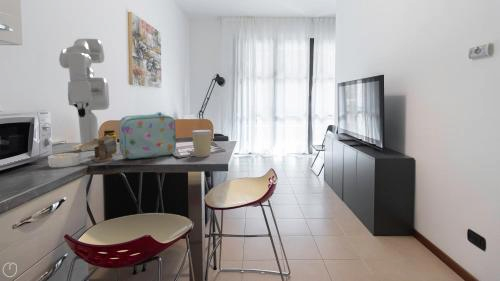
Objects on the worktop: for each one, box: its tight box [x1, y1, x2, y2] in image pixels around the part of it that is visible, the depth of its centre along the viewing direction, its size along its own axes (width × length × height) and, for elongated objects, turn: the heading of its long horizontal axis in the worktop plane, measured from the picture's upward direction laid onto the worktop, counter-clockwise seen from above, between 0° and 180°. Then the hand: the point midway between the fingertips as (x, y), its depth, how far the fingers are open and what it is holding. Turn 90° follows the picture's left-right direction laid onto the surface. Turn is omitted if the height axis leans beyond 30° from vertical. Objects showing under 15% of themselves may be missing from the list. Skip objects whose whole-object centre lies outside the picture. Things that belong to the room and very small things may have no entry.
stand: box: [90, 138, 115, 163], centre depth 169 cm, size 11×8×10 cm
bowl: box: [47, 152, 82, 169], centre depth 159 cm, size 12×12×4 cm
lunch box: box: [118, 111, 177, 160], centre depth 174 cm, size 27×10×21 cm, turn 126°
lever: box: [71, 135, 118, 152], centre depth 171 cm, size 17×15×7 cm
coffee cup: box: [191, 129, 212, 158], centre depth 174 cm, size 9×9×12 cm
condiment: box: [103, 129, 121, 155], centre depth 189 cm, size 7×8×12 cm
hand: (82, 116), depth 176 cm, fingers closed
